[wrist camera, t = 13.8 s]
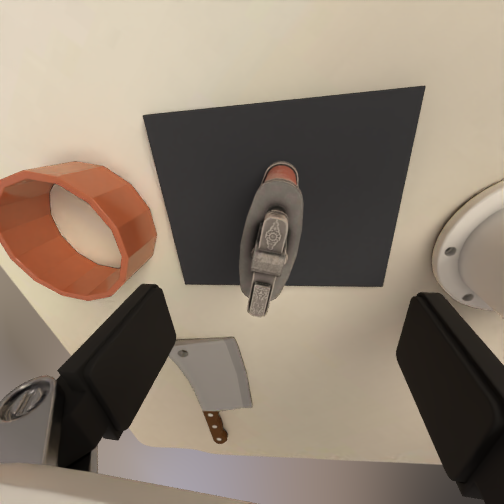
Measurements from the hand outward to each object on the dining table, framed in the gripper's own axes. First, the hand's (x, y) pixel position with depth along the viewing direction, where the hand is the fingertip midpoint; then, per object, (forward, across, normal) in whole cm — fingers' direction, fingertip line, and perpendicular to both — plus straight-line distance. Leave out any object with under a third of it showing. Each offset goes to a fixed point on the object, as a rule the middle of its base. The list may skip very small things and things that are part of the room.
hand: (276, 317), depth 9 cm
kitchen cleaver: (+14, +10, +29) cm, 33 cm away
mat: (+14, +1, 0) cm, 14 cm away
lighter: (+13, +1, 0) cm, 13 cm away
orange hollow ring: (+13, +19, +1) cm, 23 cm away
